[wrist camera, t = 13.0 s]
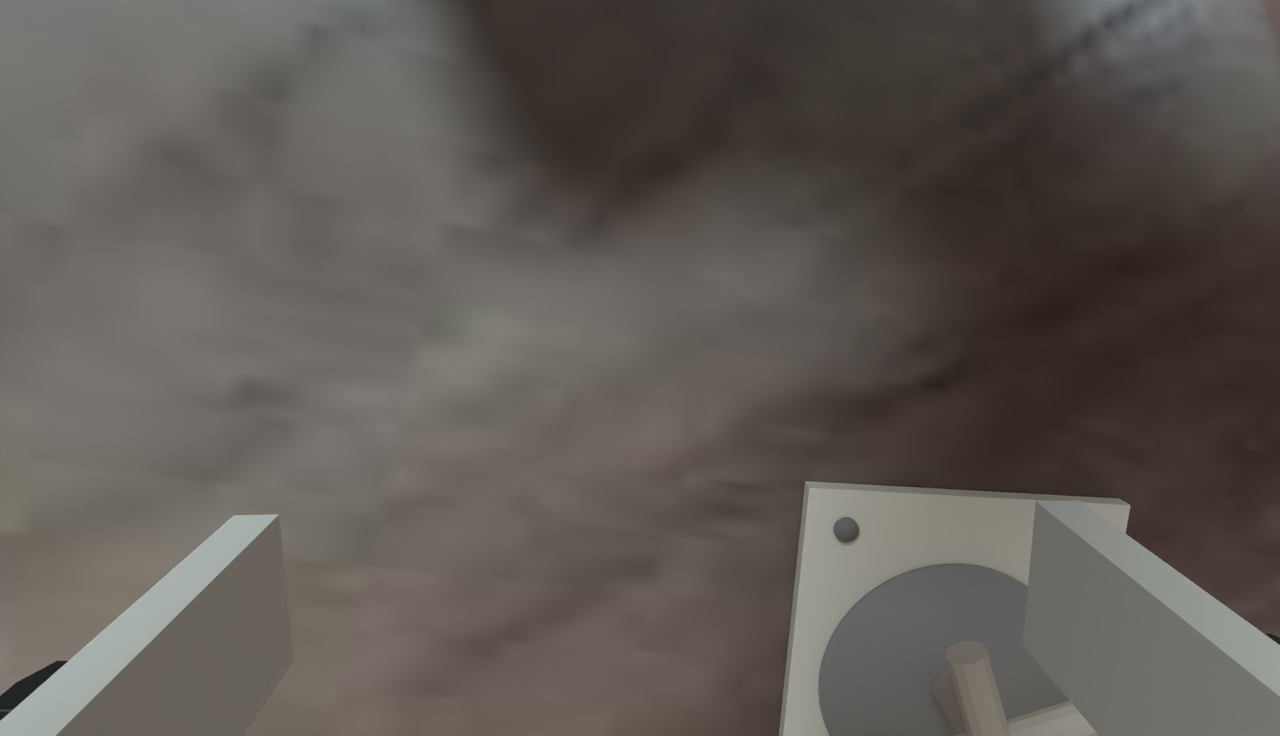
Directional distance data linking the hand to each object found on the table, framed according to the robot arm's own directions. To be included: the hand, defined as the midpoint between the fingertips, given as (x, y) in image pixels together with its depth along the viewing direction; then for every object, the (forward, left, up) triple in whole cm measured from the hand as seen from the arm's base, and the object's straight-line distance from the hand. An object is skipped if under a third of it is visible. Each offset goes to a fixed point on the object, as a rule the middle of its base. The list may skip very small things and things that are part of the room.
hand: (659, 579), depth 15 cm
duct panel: (+17, +17, -28) cm, 36 cm away
